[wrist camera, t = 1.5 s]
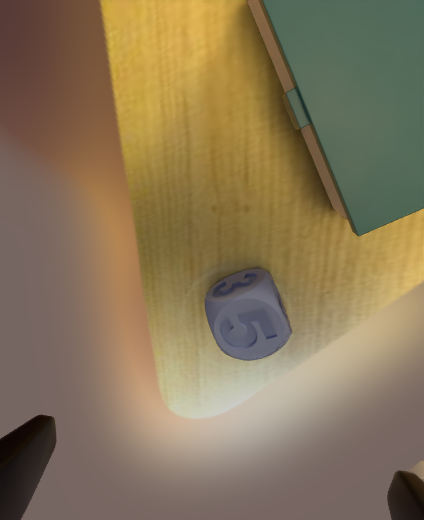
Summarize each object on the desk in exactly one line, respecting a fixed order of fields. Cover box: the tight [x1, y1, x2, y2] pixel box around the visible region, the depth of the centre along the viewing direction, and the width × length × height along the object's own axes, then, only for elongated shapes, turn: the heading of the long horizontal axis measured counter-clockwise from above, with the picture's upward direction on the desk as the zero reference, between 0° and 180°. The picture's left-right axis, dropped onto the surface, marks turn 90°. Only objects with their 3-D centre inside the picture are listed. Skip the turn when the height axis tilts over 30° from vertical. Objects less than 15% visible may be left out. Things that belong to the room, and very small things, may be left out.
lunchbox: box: [247, 0, 424, 236], centre depth 15 cm, size 12×10×5 cm
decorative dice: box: [205, 268, 292, 361], centre depth 20 cm, size 4×4×4 cm
